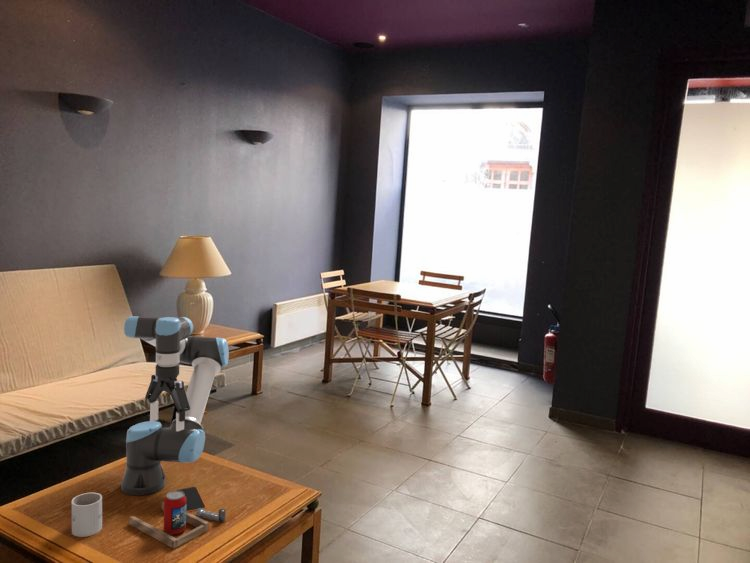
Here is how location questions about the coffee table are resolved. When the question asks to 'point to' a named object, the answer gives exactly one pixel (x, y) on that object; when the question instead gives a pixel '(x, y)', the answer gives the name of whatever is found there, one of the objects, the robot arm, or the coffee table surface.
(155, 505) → the coffee table surface
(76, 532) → the mug
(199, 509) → the crank handle
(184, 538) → the bay
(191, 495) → the smartphone
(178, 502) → the beverage can
